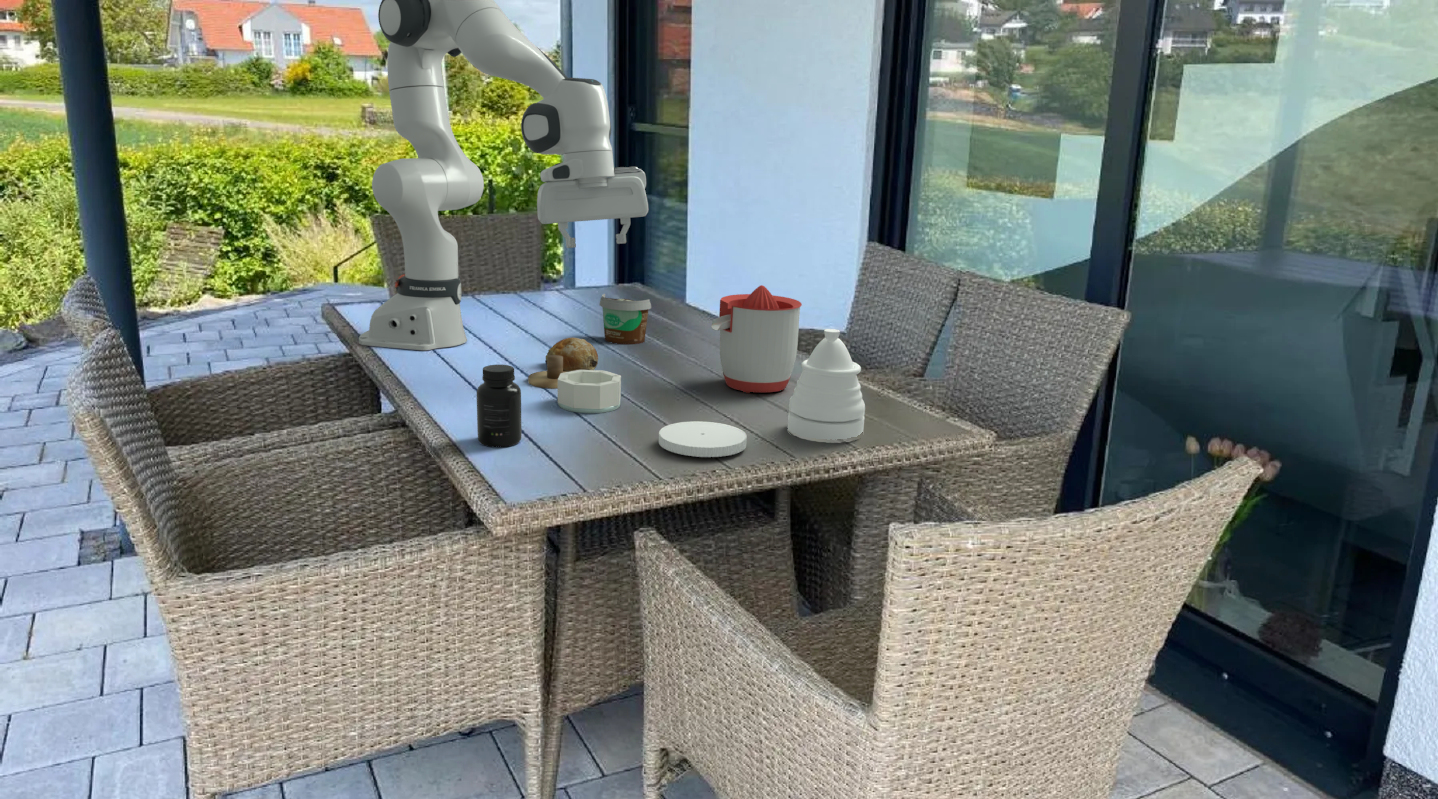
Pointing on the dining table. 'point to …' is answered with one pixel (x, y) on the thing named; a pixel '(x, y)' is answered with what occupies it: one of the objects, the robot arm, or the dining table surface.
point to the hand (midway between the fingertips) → (596, 245)
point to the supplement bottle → (499, 407)
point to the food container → (625, 320)
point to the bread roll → (575, 354)
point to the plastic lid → (702, 439)
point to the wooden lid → (548, 373)
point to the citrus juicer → (758, 340)
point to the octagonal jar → (589, 391)
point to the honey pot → (827, 393)
